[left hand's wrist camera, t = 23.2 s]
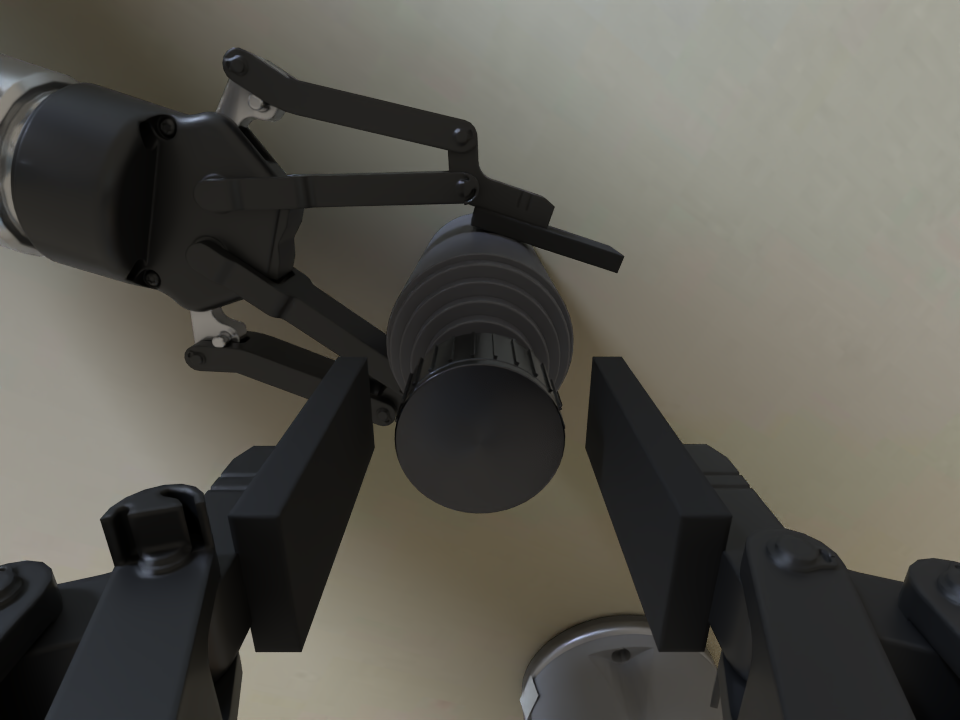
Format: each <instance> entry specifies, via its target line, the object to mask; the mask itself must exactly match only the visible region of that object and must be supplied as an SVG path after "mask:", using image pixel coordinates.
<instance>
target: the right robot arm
mask: <svg viewBox="0 0 960 720" xmlns="http://www.w3.org/2000/svg"><path fill="white" fill-rule="evenodd" d="M222 63H223V69H224V71H225V73H226V75H227V77H228V78H229V80H228V83H227V85H226V88H225V90H224V92H223V95H222V97H221V100H220V102H219V104H218V107H217V109H216V112H203V113H199V114H194V115H188V114H184V113H181V112H178V111H175V110H172V109H169V108H166V107H163V106H160V105H157V104H154V103H151V102H148V101H145V100H142V99H139V98H136V97H133V96H130V95H126V94H123V93H120V92H117V91H114V90H111V89H108V88H105V87H102V86H99V85H96V84H92V83H80V82H78V81H77V80H75V79H74V78H72V77H71V76H69V75H66V74H63V73H60V72H57V71H54V70H51V69H48V68H45V67H42V66H39V65H36V64H32V63H29V62H26V61H23V60H20V59H17V58H14V57H11V56H8V55H5V54H2V53H0V246H2V247H5V248H8V249H11V250H14V251H18V252H21V253H24V254H29V255H34V256H45V257H47V258H48V259H50V260H52V261H54V262H58V263H61V264H64V265H67V266H71V267H74V268H78V269H81V270H84V271H88V272H91V273H95V274H98V275H101V276H105V277H108V278H112V279H115V280H119V281H122V282H125V283H129V284H133V285H137V286H142V287H147V288H152V289H156V290H159V291H161V292H163V293H165V294H166V295H168V296H170V297H171V298H172V299H173V300H175V301H176V302H177V303H178V304H179V305H180V306H182V307H183V308H185V309H187V310H190V313H191V320H192V327H193V334H194V341H195V344H194V345H193V346H191V347H190V348H188V349H187V350H186V352H185V360H186V363H187V364H188V365H189V366H190V367H191V368H193V369H194V370H198V371H214V372H233V373H239V374H242V375H244V376H247V377H250V378H252V379H255V380H258V381H261V382H263V383H266V384H269V385H271V386H274V387H277V388H280V389H282V390H285V391H288V392H290V393H293V394H296V395H299V396H301V397H304V398H307V399H309V398H310V397H311V395H312V394H313V392H314V391H315V389H316V388H317V387H318V385H319V384H320V382H321V381H322V379H323V378H324V377H325V375H326V374H327V372H328V371H329V369H330V368H331V367H332V365H333V364H334V362H335V360H332V359H330V358H327V357H324V356H322V355H319V354H317V353H314V352H311V351H309V350H306V349H303V348H301V347H298V346H296V345H293V344H290V343H288V342H285V341H283V340H280V339H277V338H275V337H272V336H269V335H266V334H262V333H257V332H251V331H246V325H245V324H244V323H243V322H241V321H237V320H234V319H231V318H229V317H227V316H226V315H225V314H224V313H223V311H222V308H221V307H222V306H225V305H228V304H231V303H234V302H237V301H240V300H243V299H244V300H246V301H247V302H249V303H251V304H252V305H254V306H255V307H257V308H258V309H260V310H261V311H263V312H264V313H266V314H268V315H269V316H272V317H275V318H281V319H284V320H286V321H287V322H289V323H290V324H292V325H293V326H295V327H296V328H298V329H299V330H301V331H303V332H304V333H306V334H307V335H309V336H310V337H312V338H313V339H315V340H316V341H318V342H319V343H321V344H322V345H324V346H325V347H327V348H329V349H330V350H332V351H333V352H335V353H336V354H338V355H339V356H341V357H367V360H368V372H369V384H370V397H371V409H372V421H373V423H374V424H377V425H381V426H387V425H390V424H391V423H393V421H394V420H395V418H396V415H397V413H398V410H399V407H400V403H401V399H402V396H403V392H402V390H401V388H400V386H399V385H398V383H397V381H396V379H395V377H394V375H393V372H392V370H391V367H390V364H389V360H388V355H387V346H386V337H387V335H386V334H385V333H383V332H382V331H380V330H379V329H377V328H376V327H374V326H373V325H371V324H370V323H369V322H367V321H366V320H364V319H363V318H361V317H360V316H358V315H357V314H355V313H354V312H352V311H351V310H349V309H348V308H346V307H345V306H344V305H342V304H341V303H339V302H338V301H336V300H335V299H333V298H332V297H330V296H329V295H327V294H326V293H324V292H323V291H321V290H320V289H318V288H317V287H316V286H314V285H313V284H312V282H311V280H310V279H309V278H308V277H307V276H306V275H304V274H303V273H302V272H300V271H299V270H297V269H296V268H294V267H293V264H294V259H295V246H294V236H295V234H296V232H297V230H298V228H299V226H300V224H301V222H302V218H303V212H304V208H313V207H345V206H385V205H424V204H463V203H464V205H467V204H469V205H472V206H475V208H474V212H473V215H472V219H471V226H474V227H477V228H480V229H483V230H486V231H489V232H492V233H496V234H499V235H502V236H505V237H508V238H511V239H514V240H517V241H520V242H523V243H526V244H529V245H532V246H535V247H538V248H541V249H545V250H548V251H551V252H554V253H557V254H560V255H563V256H566V257H569V258H572V259H575V260H578V261H581V262H584V263H587V264H590V265H594V266H597V267H600V268H603V269H606V270H609V271H612V272H615V273H618V270H619V268H620V266H621V263H622V261H623V258H624V256H623V255H622V254H620V253H619V252H618V251H616V250H615V249H613V248H612V247H610V246H608V245H605V244H602V243H599V242H596V241H593V240H590V239H587V238H584V237H581V236H578V235H575V234H572V233H569V232H566V231H563V230H560V229H557V228H554V227H551V226H548V224H549V221H550V219H551V216H552V213H553V210H554V206H553V205H552V204H551V203H550V202H549V201H548V200H547V199H545V198H544V197H543V196H541V195H538V194H535V193H532V192H529V191H526V190H523V189H520V188H517V187H514V186H511V185H508V184H505V183H502V182H499V181H496V180H493V179H491V178H489V177H487V176H486V175H484V174H483V172H482V171H481V169H480V166H479V161H478V137H477V132H476V129H475V127H474V126H473V125H472V124H471V123H470V122H468V121H466V120H462V119H458V118H454V117H449V116H445V115H441V114H437V113H433V112H429V111H424V110H420V109H416V108H412V107H408V106H403V105H399V104H395V103H391V102H387V101H383V100H378V99H374V98H370V97H366V96H362V95H357V94H353V93H349V92H345V91H341V90H337V89H332V88H328V87H324V86H320V85H316V84H311V83H307V82H303V81H299V80H297V79H296V78H294V77H293V76H291V75H290V74H288V73H287V72H285V71H284V70H282V69H281V68H279V67H278V66H276V65H275V64H273V63H271V62H270V61H268V60H266V59H264V58H261V57H259V56H257V55H255V54H252V53H250V52H248V51H245V50H243V49H241V48H232V49H230V50H228V51H227V52H226V53H225V55H224V57H223V62H222ZM285 112H289V113H292V114H295V115H299V116H304V117H308V118H312V119H316V120H321V121H325V122H329V123H334V124H338V125H342V126H346V127H351V128H355V129H359V130H363V131H368V132H372V133H376V134H380V135H385V136H389V137H393V138H398V139H402V140H406V141H410V142H415V143H419V144H423V145H427V146H432V147H436V148H440V149H445V150H448V159H449V171H425V172H387V173H348V174H298V175H286V173H285V172H284V171H283V170H282V169H281V167H280V166H279V165H278V164H277V162H276V161H275V160H274V159H273V158H272V156H271V155H270V154H269V153H268V151H267V150H266V149H265V148H264V147H263V145H262V144H261V143H260V142H259V140H258V139H257V138H256V137H255V136H254V134H253V133H252V132H251V131H250V130H249V128H248V125H249V124H250V123H251V122H252V121H253V120H255V119H261V120H265V121H277V120H279V119H281V118H282V117H283V115H284V113H285ZM557 395H558V398H559V402H560V405H561V407H562V402H561V399H560V396H559V393H558V391H557Z"/></svg>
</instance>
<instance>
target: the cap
mask: <svg viewBox="0 0 960 720" xmlns="http://www.w3.org/2000/svg"><path fill="white" fill-rule="evenodd" d="M560 410H562V408H561V405H560V402H559V398H558V395H557V392H556V389H555V386H554V383H553V380H552V379H550V378H549V376H548V373H547V370H546V367H545V364H544V363H541V362H540V361H539V360H538V358H537V357H536V356H535V355H534V354H533V352H532V350H531V349H529V350H528V349H527V348H526V347H524V346H523V345H521V344H520V343H518V342H516V341H515V339H513V338H512V339H509V338H506V337H504V336H500V335H496V333H492V334H489V333H475V332H472V333H471V334H464V335H460V336H456V337H455V336H452V337H451V339H448V340H446V341H444V342H442V343H440V344H439V345H434V346H433V349H431V350H430V351H429V352H428V353H427V354H426V355H425V356H424V357H423V358H422V357H420V359H419V361H418V364H417V366H416V368H415V369H414V371H413V373H410V374H409V377H408V380H407V383H406V386H405V390H404V393H403V396H402V399H401V403H400V407H399V410H398V413H397V416H396V419H395V422H397V423H396V428H395V449H396V453H397V457H398V460H399V463H400V465H401V468H402V469H403V471H404V473H405V475H406V476H407V478H408V479H409V480H410V482H411V483H412V484H413V485H414V486H415V487H416V488H417V489H418V490H419V491H420V492H421V493H422V494H424V495H425V496H426V497H427V498H429V499H431V500H432V501H434V502H436V503H438V504H440V505H442V506H444V507H447V508H450V509H453V510H457V511H462V512H468V513H492V512H498V511H503V510H507V509H510V508H512V507H515V506H518V505H520V504H522V503H524V502H526V501H527V500H529V499H531V498H532V497H534V496H535V495H536V494H537V493H539V492H540V491H541V490H542V489H543V488H544V487H545V486H546V485H547V484H548V483H549V481H550V480H551V479H552V477H553V476H554V474H555V473H556V471H557V469H558V467H559V465H560V462H561V459H562V457H563V452H564V447H565V430H564V429H565V425H564V421H563V418H562V415H561V412H560Z"/></svg>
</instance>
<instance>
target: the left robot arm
mask: <svg viewBox="0 0 960 720" xmlns="http://www.w3.org/2000/svg"><path fill="white" fill-rule="evenodd" d="M374 448H375V445H374V433H373V421H372V409H371V397H370V384H369V372H368V360H367V357H338V358H337V359H336V361H335V362H334V364H333V365H332V367H331V368H330V369H329V371H328V372H327V374H326V375H325V377H324V378H323V379H322V381H321V382H320V384H319V385H318V387H317V388H316V389H315V391H314V392H313V394H312V395H311V397H310V398H309V399H308V401H307V402H306V404H305V405H304V407H303V408H302V409H301V411H300V412H299V414H298V415H297V417H296V418H295V420H294V421H293V422H292V424H291V425H290V427H289V428H288V430H287V431H286V432H285V434H284V435H283V437H282V438H281V440H280V441H279V442H278V444H277V445H276V446H253V447H251V448H250V449H248V450H247V451H245V452H244V453H242V454H240V455H239V456H237V457H236V458H234V459H233V460H232V461H231V463H230V464H229V465H228V466H227V468H226V469H225V470H224V471H223V473H222V474H221V477H219V478H218V479H217V480H216V481H215V482H214V484H213V485H212V486H211V490H208V491H207V492H206V494H205V495H204V494H203V492H201V491H200V490H199V489H198V488H196V487H194V486H190V485H185V484H172V485H162V486H158V487H154V488H149V489H145V490H143V491H140V492H138V493H136V494H133V495H131V496H128V497H126V498H124V499H123V500H121V501H120V502H118V503H117V504H115V505H114V506H112V507H111V508H110V509H109V510H108V511H107V512H106V513H105V514H104V515H103V517H102V518H101V519H100V521H101V524H102V527H103V531H104V534H105V537H106V540H107V543H108V547H109V550H110V553H111V556H112V559H113V563H114V566H115V567H114V569H113V571H112V572H110V573H106V574H103V575H98V576H94V577H89V578H84V579H80V580H75V581H70V582H66V583H61V584H57V583H56V580H55V577H54V575H53V572H52V569H51V568H50V567H48V566H47V565H46V564H45V563H43V562H36V561H21V562H15V563H8V564H4V565H0V720H237V716H238V707H239V699H240V690H241V682H242V666H241V660H240V655H239V649H240V647H241V645H242V643H243V641H244V639H245V637H246V635H247V633H248V631H249V629H250V628H251V632H252V637H253V642H254V647H255V652H302V649H303V646H304V643H305V641H306V638H307V635H308V632H309V629H310V627H311V624H312V621H313V618H314V615H315V613H316V610H317V607H318V604H319V602H320V599H321V596H322V593H323V590H324V588H325V585H326V582H327V579H328V576H329V574H330V571H331V568H332V565H333V563H334V560H335V557H336V554H337V551H338V549H339V546H340V543H341V540H342V537H343V535H344V532H345V529H346V526H347V523H348V521H349V518H350V515H351V512H352V510H353V507H354V504H355V501H356V498H357V496H358V493H359V490H360V487H361V484H362V482H363V479H364V476H365V473H366V471H367V468H368V465H369V462H370V459H371V457H372V454H373V451H374ZM585 448H586V451H587V454H588V457H589V459H590V462H591V465H592V468H593V471H594V473H595V476H596V479H597V482H598V484H599V487H600V490H601V493H602V496H603V498H604V501H605V504H606V507H607V510H608V512H609V515H610V518H611V521H612V523H613V526H614V529H615V532H616V535H617V537H618V540H619V543H620V546H621V549H622V551H623V554H624V557H625V560H626V563H627V565H628V568H629V571H630V574H631V576H632V579H633V582H634V585H635V588H636V590H637V593H638V596H639V599H640V602H641V604H642V607H643V610H644V613H645V615H646V616H634V615H622V616H611V617H604V618H599V619H595V620H591V621H588V622H585V623H582V624H579V625H577V626H574V627H572V628H570V629H568V630H566V631H564V632H562V633H561V634H559V635H557V636H556V637H554V638H553V639H552V640H550V641H549V642H548V643H547V644H545V645H544V646H543V647H542V648H541V649H540V650H539V651H538V652H537V654H536V655H535V656H534V658H533V659H532V660H531V662H530V664H529V665H528V667H527V670H526V672H525V675H524V678H523V683H522V696H521V698H520V702H521V705H522V708H523V714H524V720H960V563H958V562H955V561H949V560H943V559H936V558H930V559H921V560H917V561H916V562H915V563H913V564H912V565H911V566H909V569H908V572H907V575H906V577H905V580H904V582H901V581H896V580H891V579H887V578H882V577H878V576H873V575H868V574H864V573H859V572H855V571H851V570H848V569H847V568H846V566H845V564H844V563H843V562H842V560H841V559H840V558H839V556H838V555H837V554H836V553H835V552H834V551H832V550H831V549H830V548H829V547H827V546H826V545H825V544H823V543H822V542H820V541H818V540H816V539H814V538H812V537H810V536H808V535H806V534H804V533H800V532H796V531H793V530H789V529H786V528H784V527H783V526H782V524H781V523H780V522H779V521H778V519H777V518H776V517H775V516H774V514H773V513H772V512H771V511H770V510H769V508H768V507H767V506H766V505H765V503H764V502H763V501H762V500H761V499H760V497H759V496H758V495H757V494H756V492H755V491H754V490H753V489H752V488H750V487H749V484H748V483H747V481H746V480H745V479H744V478H743V476H742V475H739V472H738V470H737V469H736V468H735V467H734V465H733V464H732V463H731V462H730V460H729V459H728V458H727V457H726V456H724V455H723V454H721V453H719V452H718V451H716V450H715V449H713V448H712V447H710V446H708V445H707V444H682V442H681V441H680V440H679V438H678V437H677V435H676V434H675V432H674V431H673V430H672V428H671V427H670V425H669V424H668V422H667V421H666V420H665V418H664V417H663V415H662V414H661V412H660V411H659V409H658V408H657V407H656V405H655V404H654V402H653V401H652V399H651V398H650V397H649V395H648V394H647V392H646V391H645V389H644V388H643V387H642V385H641V384H640V382H639V381H638V379H637V378H636V377H635V375H634V374H633V372H632V371H631V369H630V368H629V367H628V365H627V364H626V362H625V361H624V359H623V358H622V357H593V360H592V372H591V384H590V397H589V409H588V421H587V433H586V445H585ZM710 626H711V628H712V630H713V632H714V634H715V636H716V638H717V640H718V642H719V644H720V646H721V648H722V651H721V655H720V660H719V664H718V669H717V667H716V665H715V662H714V660H713V658H712V656H711V654H710V652H709V651H708V649H707V648H706V642H707V637H708V632H709V628H710Z"/></svg>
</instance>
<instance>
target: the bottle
mask: <svg viewBox="0 0 960 720" xmlns="http://www.w3.org/2000/svg"><path fill="white" fill-rule="evenodd" d="M472 215H473V214H468V215H464V216H461V217H458V218H456V219H454V220H452V221H450V222H449V223H447V224H445V225H444V226H443V227H442V228H441V229H440V230H439V231H438V232H437V233H436V234H435V235H434V237H433V238H432V240H431V241H430V243H429V244H428V246H427V248H426V250H425V252H424V253H423V255H422V257H421V259H420V260H419V262H418V264H417V266H416V267H415V269H414V271H413V273H412V274H411V276H410V278H409V280H408V281H407V283H406V285H405V287H404V289H403V290H402V292H401V294H400V296H399V297H398V299H397V301H396V303H395V305H394V307H393V309H392V312H391V315H390V318H389V322H388V328H387V337H386V346H387V355H388V360H389V364H390V367H391V370H392V372H393V375H394V377H395V379H396V381H397V383H398V385H399V386H400V388H401V390H402V392H403V393H404V390H405V386H406V383H407V380H408V377H409V374H410V373H413V371H414V369H415V368H416V366H417V364H418V361H419V359H420V357H422V358H423V357H424V356H425V355H426V354H427V353H428V352H429V351H430V350H431V349H433V346H434V345H439V344H440V343H442V342H444V341H446V340H448V339H451V337H452V336H455V337H456V336H460V335H464V334H471V333H472V332H475V333H489V334H492V333H496V335H500V336H504V337H506V338H509V339H512V338H513V339H515V341H516V342H518V343H520V344H521V345H523V346H524V347H526V348H527V349H528V350H529V349H531V350H532V352H533V354H534V355H535V356H536V357H537V358H538V360H539V361H540V362H541V363H544V364H545V367H546V370H547V373H548V376H549V378H550V379H552V380H553V383H554V386H555V389H556V392H557V391H558V389H559V388H560V386H561V384H562V383H563V381H564V378H565V376H566V374H567V372H568V369H569V366H570V363H571V358H572V353H573V329H572V324H571V320H570V316H569V313H568V311H567V308H566V306H565V304H564V302H563V300H562V298H561V296H560V295H559V293H558V291H557V289H556V288H555V286H554V284H553V282H552V281H551V279H550V277H549V275H548V274H547V272H546V270H545V268H544V266H543V265H542V263H541V261H540V259H539V258H538V256H537V254H536V252H535V251H534V249H533V247H532V245H529V244H526V243H523V242H520V241H517V240H514V239H511V238H508V237H505V236H502V235H499V234H496V233H492V232H489V231H486V230H483V229H480V228H477V227H474V226H471V219H472Z"/></svg>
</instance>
